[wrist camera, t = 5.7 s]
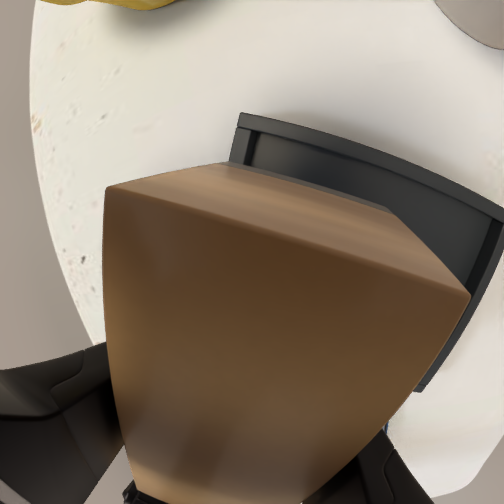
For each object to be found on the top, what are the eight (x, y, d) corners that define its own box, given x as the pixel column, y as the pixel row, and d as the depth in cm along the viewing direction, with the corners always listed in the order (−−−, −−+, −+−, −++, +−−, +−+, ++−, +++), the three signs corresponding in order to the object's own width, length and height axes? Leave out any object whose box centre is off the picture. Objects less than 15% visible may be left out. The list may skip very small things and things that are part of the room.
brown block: (283, 431, 11) (260, 531, 6) (185, 400, 12) (136, 489, 7) (387, 207, 7) (474, 296, 3) (226, 160, 8) (102, 185, 3)
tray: (415, 374, 19) (421, 393, 17) (206, 317, 20) (195, 333, 19) (499, 207, 13) (516, 215, 11) (249, 116, 15) (239, 111, 13)
